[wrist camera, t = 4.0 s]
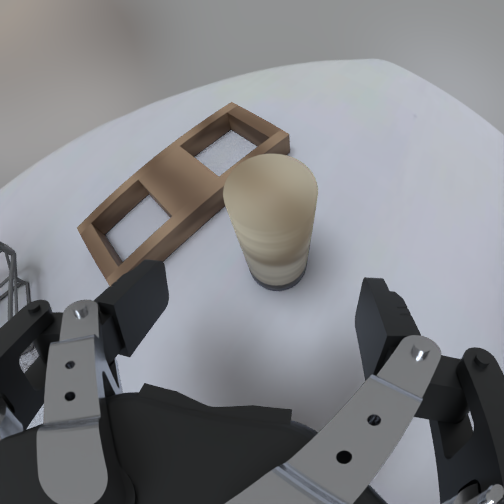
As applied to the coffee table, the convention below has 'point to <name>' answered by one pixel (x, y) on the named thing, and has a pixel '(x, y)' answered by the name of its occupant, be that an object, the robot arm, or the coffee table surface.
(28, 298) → the geometric lantern
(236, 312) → the coffee table surface
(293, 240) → the banded peg
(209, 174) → the socket block
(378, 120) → the coffee table surface
